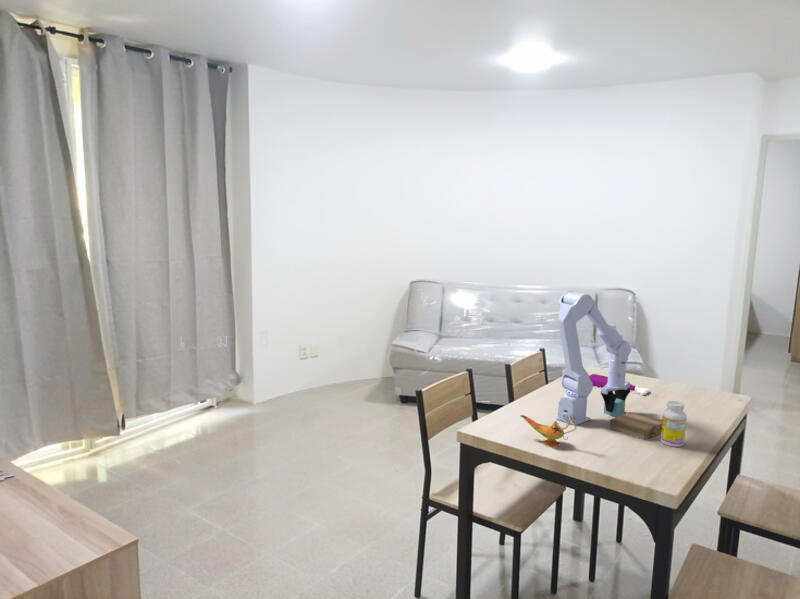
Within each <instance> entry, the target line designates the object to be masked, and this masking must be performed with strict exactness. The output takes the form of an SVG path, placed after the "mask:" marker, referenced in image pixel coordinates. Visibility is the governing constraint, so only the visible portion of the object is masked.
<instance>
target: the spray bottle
mask: <svg viewBox="0 0 800 599" xmlns="http://www.w3.org/2000/svg"><path fill="white" fill-rule="evenodd" d="M589 378H590V380H591V381H592V384H593V387H595V386H597V387H596V388H599V387H601V388H600V389H602V388H603V387H604V386H605V385H606V384H607V383H608V375H607V376H606V375H602V374H601V375H600V374H597V373H596V374H595V373H592V374H590V375H589ZM628 389H630V390H631V391H630V393H636V394H637V393H638V394H639V395H641V396H645V395H647V394H649V392H650V390H649V388H648V387H646V388H644V387H639V386H636V385H634V384H632V383H630V387H628Z"/></svg>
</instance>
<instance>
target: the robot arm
mask: <svg viewBox="0 0 800 599" xmlns="http://www.w3.org/2000/svg"><path fill="white" fill-rule="evenodd" d="M558 302H559V313H558V315H557V316H558V317H557V323H558V330H559V334H560V335H559V336H560V339H561V345H562V346H561V347H562V352H563V356H564V357H563V358H564V363H565V368H564V369H562V371H561V373H562V375H561V376H562V377H561V386H562V387H563V389H564V396H563V397H561V398H560V399H559V401H558V409H557V410H558V411H557V412H558V413H557V416H555V419H556V420H558V421H562V422H564V423H567V424H568V422H569V419H570V417H571V415H572V414H574V416H572V418H574V419H572V420H573V421H574V422H575V424H576V426H577V425H579V424H583V423H586V422H588V421H591V420H592V417H589V416H587V406H588V397H589V395H590V394H591V393H592V391H593V389H594V388H593V387H594V386H593V384H592V381H591V380H590V378H589V376H590V375H589V373H588V371H587V370H586V368H584V364H583V358H582V354H581V348H580V347H581V346H580V340H579V336H578V335H579V334H578V328H577V323H578V322H579V321H581V320H582V319H583V318H584V317H585V316H587V317H588V319H589V320H590V321H591V322H592V323H593V324H594V326H595V327H596V328H597V334H598V336H599V337H600V339H601V340H602V341H603V343H604V344H605V350H606V352H608V353H609V356H608V372H607V377H608V383H607V384H606V385H605V386H604V387H603V388H601V391H600V395H601V397H602V399H603V402H605V407H606V411H608V412H613V409H614V403H615V400H616V398H617V399H621V400H624V401H625V402H626V399H627V397H628V395H629V394H630V393H631V391H630V389H628V387H630V384H631V382H630V381H628V380H626V373H627V362H628V360H629V356H630V354H631V352H632V349H633V348H632V347H631V345H630V342H628V341H627V340H624V338H623V335H622V334H620V332H619V331H618V329H617V326H616V325H615V324H612V323H609V322H607V321H606V319H605V318H604V316H603V314H602V313H601V311H600V310H599V308H598V306H597V302H596V301H595V300H594V299H593V297H592V296H591V295H590V294H587V293H585V294H583V293H581V292H575V291H572V290H568V291H565V292H564V293H563V294H562V296H560V299H559V301H558ZM569 415H570V416H569ZM570 420H571V419H570ZM572 420H571V421H570V422H569V425H572V426H575V424H574V423H573V421H572Z"/></svg>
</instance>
